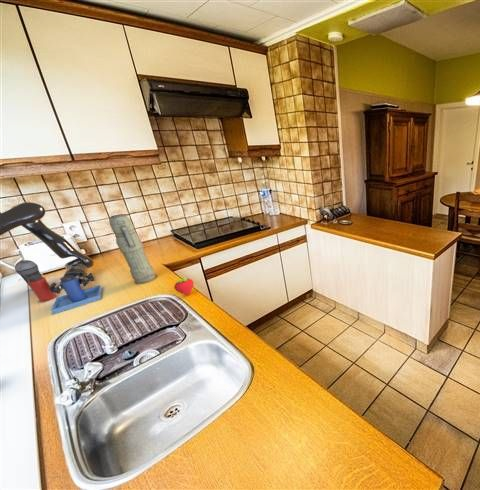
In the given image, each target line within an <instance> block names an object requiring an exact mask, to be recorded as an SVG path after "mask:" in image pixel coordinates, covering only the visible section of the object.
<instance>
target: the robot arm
mask: <svg viewBox="0 0 480 490" xmlns="http://www.w3.org/2000/svg"><path fill="white" fill-rule="evenodd" d="M45 215H46V209H45V207H44V206H43V205H41V204H40V203H37V202H30V201H29V202H28V201H26V202H25V201H24V202H20V203H19V204H16V205H14V206H11V208H9V209H7V210H6V211H3V212H1V213H0V237H1V236H3V235H5V234H6V233H8V232H10V231H13V230H14V229H16V228H18V227H23V228H24V229H25V230H27V231H28V232H30V233H31V234H32V235H34V236H35V237H36V238H38V239H39V240H40V241H41V242H42V243H44V244H45V245H46V246H47V247H48V248H49V249H50V250H51V251H52V252H53V253H54V254H55V255H56V256H57V257H58V258H60V259H67V258H72V257H74V259H72V260H70V261H67V262H66V263H65V264H64V268H65V272H64V274H63V276H62V277H64V276H67V275H73V277H76V278H77V280H78V282H79V283H80V285H82V286H83V287H86V286H87V285H89V283H90V282H95V276H94V274H93V272H90V273H88V270H89V269H90V268H93V266H94V265H95V263H94V262H95V261H94V260H93V259H92V258H91V257H89V256H88V255H86V254H84V253H82V252H81V251H79V250H78V249H76V248H75V247H74V246H73V245H72V244H71V243H70V242H69V241H68V240H67V239H66V238H64V237H63V236H62V235H60V234H58V233H57V232H55V231H54V230H52V229H51V228H50V227H48V226H47V225H46V224H45V223H44V222H43V221H42V219H43V218H44V217H45ZM49 285H50V287H49V289H50V291H51V292H54V293H55V294H56V295H60V294H61V291H62V290H64V289H63V287H62V285H61V284H60V282H51V283H50V284H49Z"/></svg>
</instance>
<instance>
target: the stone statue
mask: <svg viewBox="0 0 480 490" xmlns="http://www.w3.org/2000/svg"><path fill="white" fill-rule="evenodd" d="M108 222H109V223H108V224H109V226H110V229H111V230H112V232H113V234H114V235H115V242H116V243H115V244H116V245H117V247H118V249H119V252H120V253H122V254H123V256H124V259H125V261H126V263H127V266H128V268H129V272H130V275H131V277H132V279H133V280H134V283H135V284H137V285H140V284H141V285H142V284H147V283H149V282H151V281H153V280H155V279H156V278H157V275H156V273H155V270H154V268H153V266H152V265H151V264H150V261H149V259H148V257H147V255H146V253H145V250H144V245H143V243H142V240H141V237H140V236H139V235H138V234H137V232H136V231H135V228H134V226H133V223H132V221H131V219H130V218H129V217H128V216H127V215H126V214H124V213H123V214H122V213H119V214H115V215H112V216H110V217H109V218H108Z"/></svg>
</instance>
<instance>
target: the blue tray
mask: <svg viewBox="0 0 480 490" xmlns="http://www.w3.org/2000/svg"><path fill="white" fill-rule="evenodd" d="M83 290H84V292H85V294H86V296H87V298H86V299H84V300H82V301H78V302H75V303H73V302H71V300H70V299H69V297H68V295H67V294H65V295H61V296H58V297H55V301H54V302H53V305H52V308H51V313H52V314H54V315H55V314H58V313H61V312H64V311H67V310H71V309H74V308H78V307H80V306H81V307H82V306H83V305H87V304H90V303H94V302H97V301H100V300H101V299H102V293H103V287H102V285H96V286H93V287H89V288H86V289H83Z"/></svg>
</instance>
